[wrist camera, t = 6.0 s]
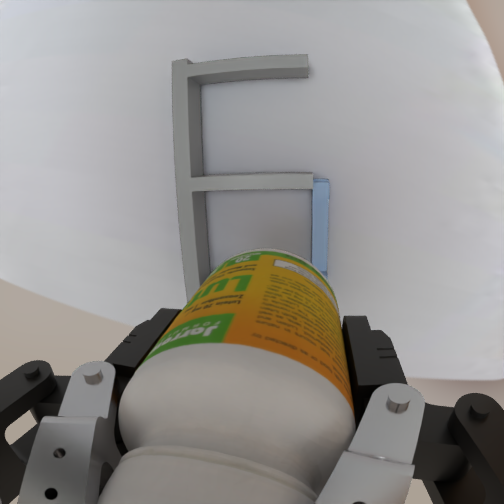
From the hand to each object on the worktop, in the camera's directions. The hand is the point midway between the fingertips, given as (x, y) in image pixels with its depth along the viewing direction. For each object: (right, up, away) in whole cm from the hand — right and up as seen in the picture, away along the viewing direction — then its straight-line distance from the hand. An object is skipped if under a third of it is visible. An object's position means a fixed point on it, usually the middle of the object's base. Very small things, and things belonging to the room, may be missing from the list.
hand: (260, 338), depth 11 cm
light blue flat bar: (+5, +4, +14) cm, 16 cm away
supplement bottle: (0, +1, +2) cm, 2 cm away
